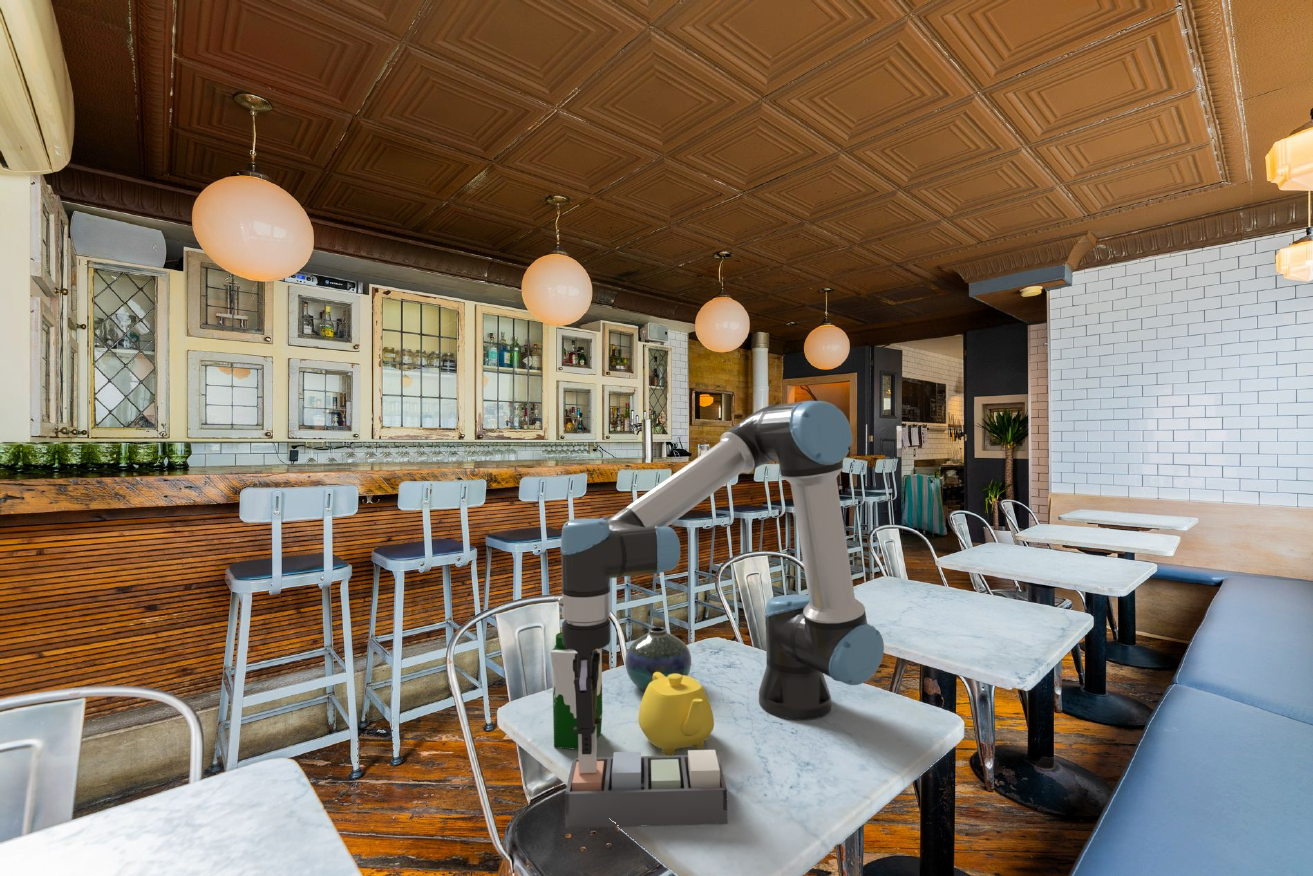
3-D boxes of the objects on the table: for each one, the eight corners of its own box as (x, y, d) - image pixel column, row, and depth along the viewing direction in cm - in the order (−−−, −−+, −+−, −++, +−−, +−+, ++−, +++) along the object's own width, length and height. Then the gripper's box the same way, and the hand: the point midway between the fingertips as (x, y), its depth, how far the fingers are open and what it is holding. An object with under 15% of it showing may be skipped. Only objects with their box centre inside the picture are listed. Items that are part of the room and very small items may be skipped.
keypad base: (719, 784, 97) (718, 754, 97) (727, 823, 87) (727, 789, 87) (573, 788, 97) (573, 758, 97) (565, 828, 87) (564, 794, 87)
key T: (678, 777, 95) (678, 759, 95) (680, 800, 89) (680, 780, 89) (651, 778, 95) (650, 759, 95) (651, 801, 89) (651, 781, 89)
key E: (604, 779, 95) (603, 761, 95) (601, 802, 89) (601, 782, 89) (576, 780, 95) (576, 761, 95) (572, 803, 89) (572, 783, 89)
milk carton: (564, 727, 118) (562, 627, 118) (607, 731, 116) (606, 629, 116) (547, 749, 109) (545, 641, 110) (594, 754, 108) (592, 644, 108)
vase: (693, 700, 129) (692, 640, 130) (623, 701, 130) (622, 640, 130) (690, 673, 145) (689, 619, 145) (627, 674, 145) (627, 619, 145)
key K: (641, 770, 95) (640, 751, 95) (641, 792, 89) (640, 772, 89) (614, 771, 95) (613, 752, 95) (611, 793, 89) (611, 773, 89)
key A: (715, 768, 95) (715, 749, 95) (720, 790, 89) (719, 770, 89) (688, 769, 95) (687, 750, 95) (691, 791, 89) (690, 771, 89)
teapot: (668, 779, 99) (667, 705, 100) (625, 727, 118) (624, 665, 118) (736, 760, 105) (735, 690, 105) (685, 714, 123) (684, 654, 123)
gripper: (567, 607, 99) (569, 749, 98) (555, 632, 86) (557, 796, 85) (612, 607, 99) (614, 748, 99) (607, 631, 86) (609, 794, 86)
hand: (587, 770), depth 92 cm, fingers closed
